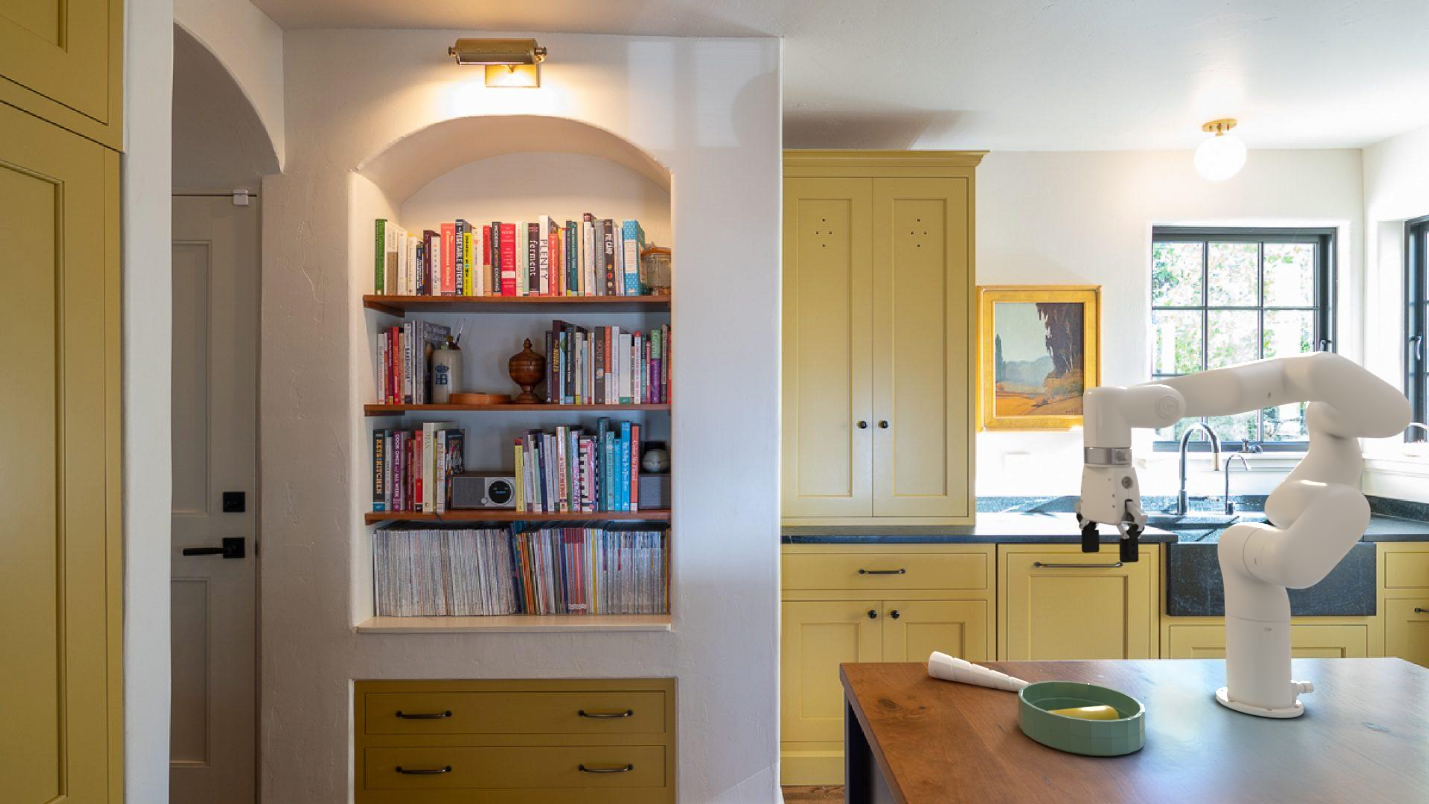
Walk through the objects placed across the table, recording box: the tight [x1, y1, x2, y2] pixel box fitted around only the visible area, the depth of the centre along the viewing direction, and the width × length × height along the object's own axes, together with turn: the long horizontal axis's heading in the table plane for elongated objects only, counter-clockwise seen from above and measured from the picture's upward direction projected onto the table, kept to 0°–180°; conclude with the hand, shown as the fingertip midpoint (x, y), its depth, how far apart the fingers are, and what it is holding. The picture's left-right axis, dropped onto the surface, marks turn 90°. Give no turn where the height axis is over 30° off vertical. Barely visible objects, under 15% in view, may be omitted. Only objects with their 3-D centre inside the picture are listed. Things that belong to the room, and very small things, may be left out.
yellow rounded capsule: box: [1048, 705, 1120, 720], centre depth 128 cm, size 14×4×4 cm, turn 102°
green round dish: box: [1017, 680, 1146, 757], centre depth 129 cm, size 18×18×6 cm
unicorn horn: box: [927, 651, 1032, 693], centre depth 150 cm, size 5×24×5 cm, turn 52°
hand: (1109, 557), depth 139 cm, fingers open, 9 cm apart
